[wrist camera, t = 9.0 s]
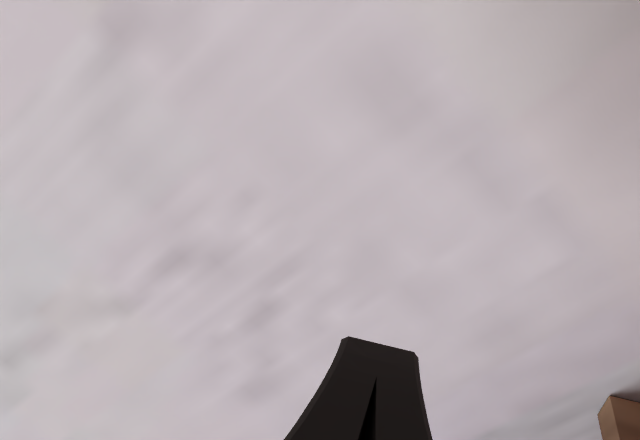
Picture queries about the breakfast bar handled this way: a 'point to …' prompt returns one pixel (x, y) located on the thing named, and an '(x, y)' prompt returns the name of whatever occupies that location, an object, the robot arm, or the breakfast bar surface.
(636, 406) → the box
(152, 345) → the breakfast bar surface
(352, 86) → the breakfast bar surface
